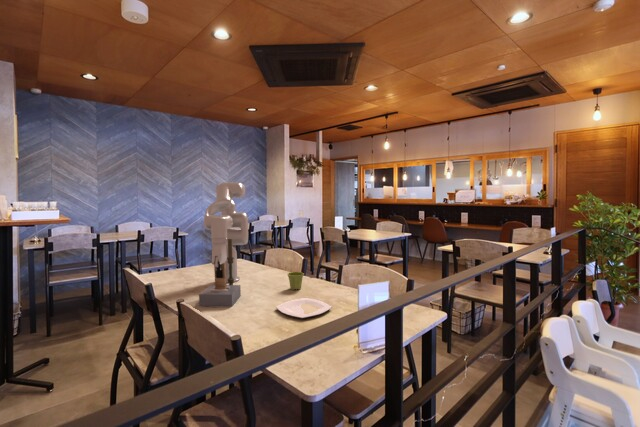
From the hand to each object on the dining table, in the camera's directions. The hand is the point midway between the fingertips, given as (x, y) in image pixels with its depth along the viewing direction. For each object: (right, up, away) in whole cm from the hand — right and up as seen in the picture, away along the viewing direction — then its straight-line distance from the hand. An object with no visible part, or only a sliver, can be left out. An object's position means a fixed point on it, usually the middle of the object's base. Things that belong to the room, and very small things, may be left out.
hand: (220, 276), depth 171 cm
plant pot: (+36, -11, +22) cm, 44 cm away
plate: (+43, -14, -12) cm, 47 cm away
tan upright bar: (0, -7, +1) cm, 7 cm away
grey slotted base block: (0, -12, +1) cm, 13 cm away
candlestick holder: (0, -11, +19) cm, 22 cm away
